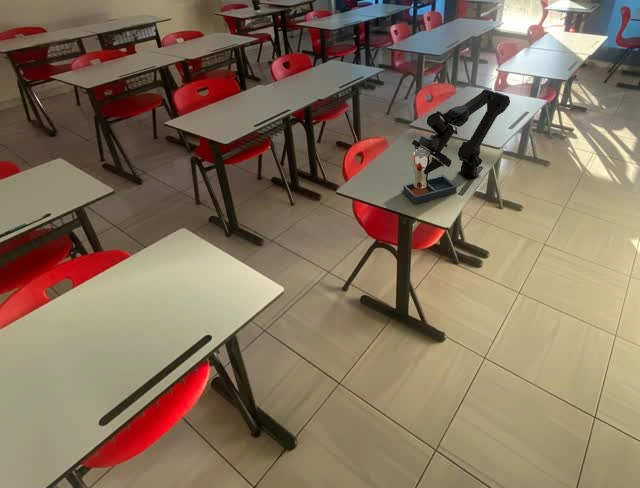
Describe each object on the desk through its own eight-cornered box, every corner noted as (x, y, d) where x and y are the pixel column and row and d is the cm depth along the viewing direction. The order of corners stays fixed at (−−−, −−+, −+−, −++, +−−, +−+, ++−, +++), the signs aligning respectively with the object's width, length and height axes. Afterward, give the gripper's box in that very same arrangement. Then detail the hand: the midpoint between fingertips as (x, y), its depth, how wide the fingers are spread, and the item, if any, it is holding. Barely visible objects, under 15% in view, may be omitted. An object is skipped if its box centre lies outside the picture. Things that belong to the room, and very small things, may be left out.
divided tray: (442, 181, 180) (443, 175, 178) (455, 192, 172) (456, 186, 171) (403, 191, 173) (403, 185, 171) (414, 204, 165) (415, 197, 164)
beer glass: (427, 179, 172) (429, 148, 164) (430, 189, 166) (432, 157, 158) (411, 180, 171) (411, 149, 163) (413, 190, 166) (414, 158, 157)
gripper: (415, 120, 164) (393, 152, 165) (448, 137, 151) (423, 172, 152) (430, 133, 172) (408, 163, 173) (461, 150, 159) (438, 183, 160)
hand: (418, 170), depth 164 cm, fingers closed on beer glass, 7 cm apart
